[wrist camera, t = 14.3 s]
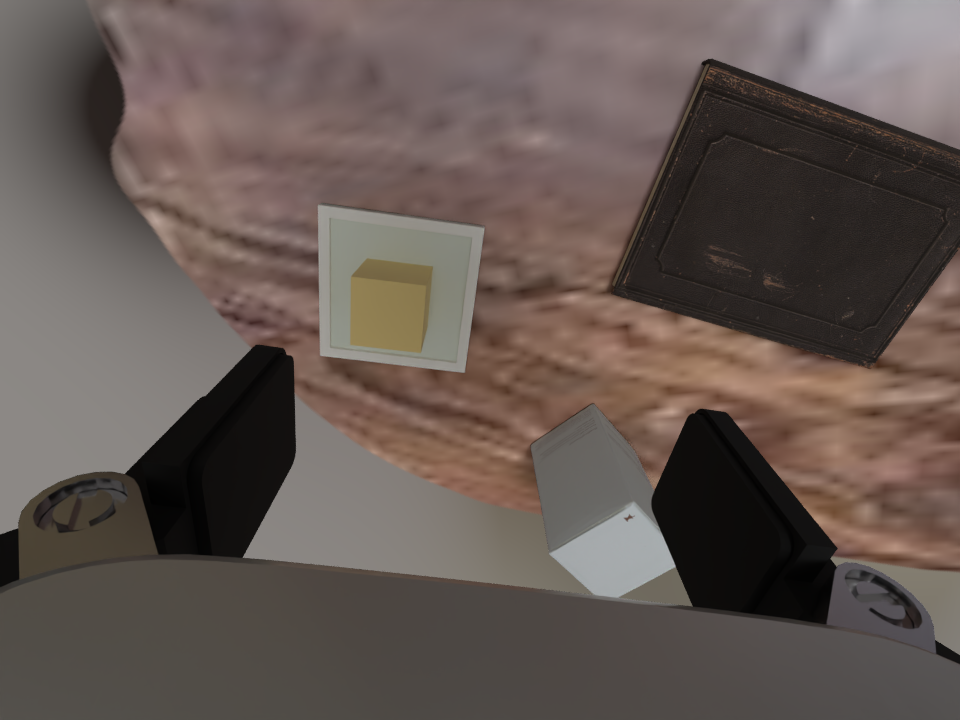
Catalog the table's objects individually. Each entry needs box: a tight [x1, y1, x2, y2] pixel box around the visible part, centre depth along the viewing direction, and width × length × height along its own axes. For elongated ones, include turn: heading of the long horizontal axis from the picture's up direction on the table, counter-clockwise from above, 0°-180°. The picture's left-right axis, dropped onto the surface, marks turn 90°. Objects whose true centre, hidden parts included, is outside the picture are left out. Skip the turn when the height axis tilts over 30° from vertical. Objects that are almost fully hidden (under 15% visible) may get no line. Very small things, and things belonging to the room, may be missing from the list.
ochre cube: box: [350, 258, 433, 353], centre depth 35 cm, size 5×5×5 cm
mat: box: [318, 203, 485, 373], centre depth 37 cm, size 12×12×1 cm
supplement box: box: [531, 404, 676, 598], centre depth 38 cm, size 7×7×13 cm
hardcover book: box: [611, 59, 960, 369], centre depth 35 cm, size 16×23×2 cm
